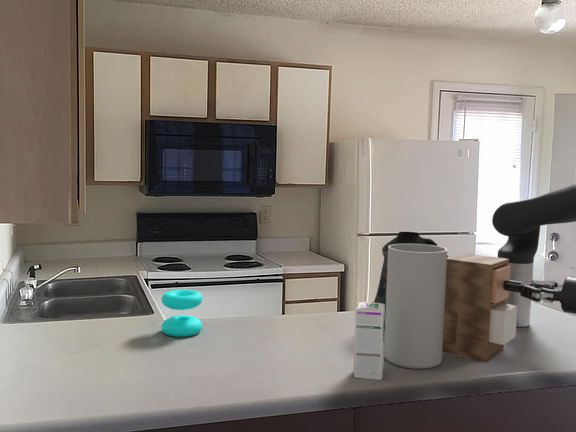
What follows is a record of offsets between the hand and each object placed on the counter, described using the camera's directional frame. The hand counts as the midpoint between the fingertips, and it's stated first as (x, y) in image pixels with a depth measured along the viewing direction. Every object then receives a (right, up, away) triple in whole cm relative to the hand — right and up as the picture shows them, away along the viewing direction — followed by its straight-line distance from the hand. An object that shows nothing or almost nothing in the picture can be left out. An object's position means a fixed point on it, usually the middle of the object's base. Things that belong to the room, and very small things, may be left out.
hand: (504, 284), depth 129 cm
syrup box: (-32, -17, -10) cm, 38 cm away
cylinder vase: (-21, -17, -1) cm, 27 cm away
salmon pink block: (-3, -3, +3) cm, 5 cm away
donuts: (-75, -14, +16) cm, 78 cm away
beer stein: (-17, -14, +27) cm, 35 cm away
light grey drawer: (-1, -12, +2) cm, 12 cm away
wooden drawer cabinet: (-5, -16, +6) cm, 18 cm away
